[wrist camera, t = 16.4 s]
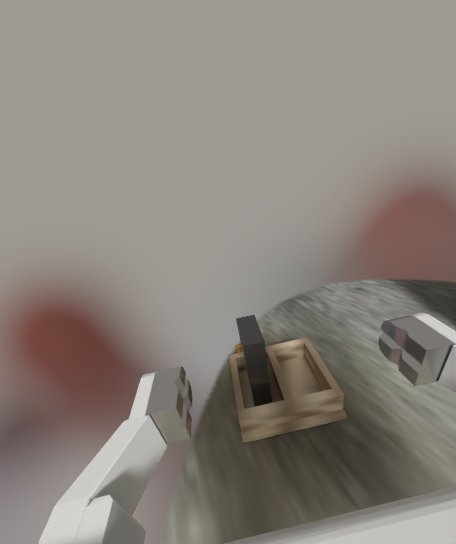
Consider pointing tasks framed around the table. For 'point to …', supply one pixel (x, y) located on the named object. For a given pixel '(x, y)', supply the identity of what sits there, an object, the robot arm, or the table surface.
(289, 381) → the wooden divided box
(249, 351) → the block
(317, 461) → the table surface
